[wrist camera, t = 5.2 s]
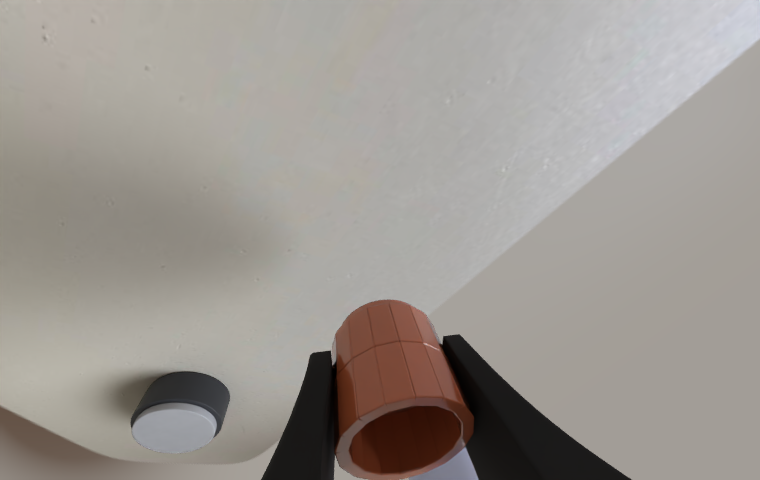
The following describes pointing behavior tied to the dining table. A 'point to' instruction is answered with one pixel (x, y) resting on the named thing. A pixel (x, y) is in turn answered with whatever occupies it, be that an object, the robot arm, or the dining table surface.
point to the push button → (180, 413)
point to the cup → (395, 395)
